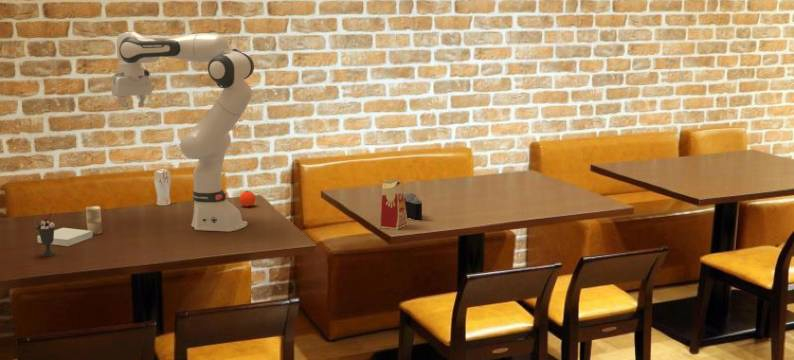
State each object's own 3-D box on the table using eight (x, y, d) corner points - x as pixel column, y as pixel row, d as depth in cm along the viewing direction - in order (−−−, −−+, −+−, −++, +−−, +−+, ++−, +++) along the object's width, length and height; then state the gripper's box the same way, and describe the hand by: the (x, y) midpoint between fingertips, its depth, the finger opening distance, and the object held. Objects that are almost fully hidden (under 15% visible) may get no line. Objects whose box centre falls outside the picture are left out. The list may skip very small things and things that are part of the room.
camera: (429, 219, 392) (429, 195, 390) (416, 221, 388) (416, 197, 386) (407, 212, 404) (407, 189, 402) (394, 214, 400) (394, 191, 398)
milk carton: (407, 225, 382) (407, 176, 378) (397, 230, 374) (397, 180, 370) (387, 222, 386) (386, 174, 382) (377, 228, 378) (376, 178, 374)
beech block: (100, 230, 375) (99, 205, 373) (102, 233, 370) (100, 208, 368) (87, 231, 373) (85, 207, 371) (88, 234, 368) (86, 209, 366)
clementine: (237, 205, 418) (236, 189, 416) (252, 203, 421) (252, 188, 419) (242, 209, 411) (241, 192, 409) (257, 207, 414) (257, 191, 412)
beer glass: (167, 206, 416) (165, 172, 414) (152, 205, 418) (151, 171, 415) (174, 202, 423) (172, 169, 420) (159, 201, 425) (158, 168, 422)
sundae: (62, 252, 344) (59, 212, 341) (49, 257, 337) (46, 216, 334) (47, 251, 346) (44, 210, 343) (34, 255, 339) (31, 215, 336)
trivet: (92, 237, 365) (92, 230, 364) (67, 246, 352) (67, 239, 351) (63, 233, 370) (63, 227, 369) (37, 242, 357) (37, 236, 356)
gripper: (118, 72, 372) (121, 107, 373) (153, 72, 390) (156, 105, 391) (106, 73, 375) (109, 108, 376) (141, 73, 393) (144, 106, 394)
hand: (133, 107), depth 384 cm, fingers open, 8 cm apart
